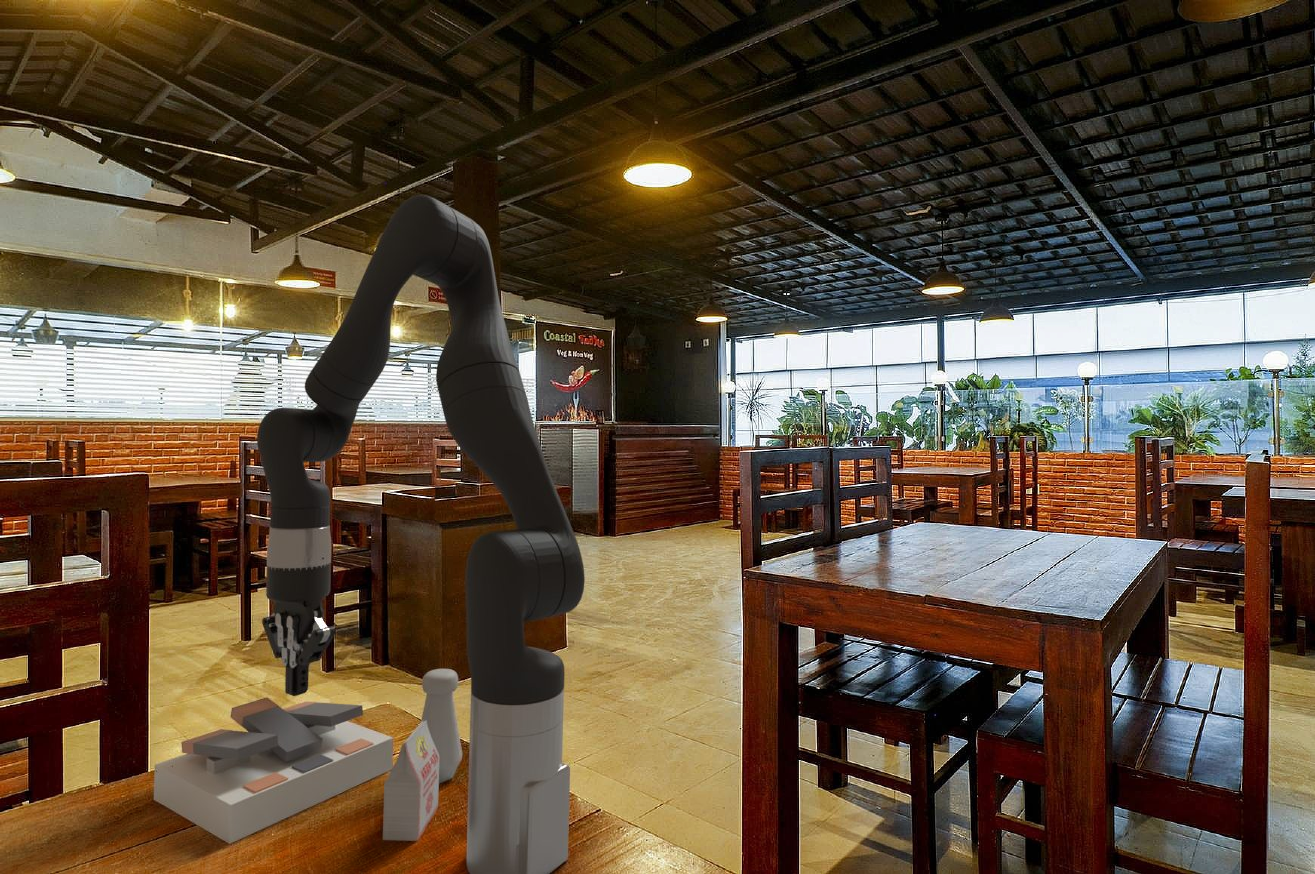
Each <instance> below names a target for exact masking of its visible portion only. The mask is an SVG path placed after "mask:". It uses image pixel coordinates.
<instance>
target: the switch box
mask: <svg viewBox="0 0 1315 874" xmlns="http://www.w3.org/2000/svg"><path fill="white" fill-rule="evenodd" d="M303 725H305V726H306V727H307V728H309V729H310V730H311V731H313V732H314V733H315V734H317V735H318V736H319V737H321V738H322V739H323V740H322V746H321V748H320V749H318V750H315V751H312V752H310V753H307V754H305V755H302V756H300V757H297V758H294V759H292V760H289V761H287V762H285V761H284V760H283V759H281V758H280V757H279V756H278V755H277V754H275V753H274V752H273V751H272V750H270V749H268V750H265V751H262V752H260V753H257V754H254V755H251V756H249V757H246V758H243V759H240V760H233V759H226V758H218V757H211V756H204V755H196V754H187V753H184V754H183V755H179V756H177V757H174V758H170V759H168V760H165V761H161V762H158V763H156V764H154V774H153V775H154V776H153V777H154V779H153V800H154V801H155V802H157V803H159V804H160V805H163V806H164V807H166V808H167V809H169V810H171V811H172V812H174V813H176V814H177V815H179V816H181V817H183V818H184V819H186V820H188V821H190V822H191V823H193V824H194V825H196V826H197V827H200V828H202V829H203V830H205V831H207V832H208V833H210V834H212V835H214V836H215V837H217V838H219V839H220V840H222V841H224V842H226V843H227V844H228V845H229V844H232V843H233V844H234V843H235V842H237V841H239V840H241V839H244V838H247V837H248V836H250V835H253V834H255V833H256V832H259V831H261V830H263V829H266V828H268V827H270V826H272V825H274V824H277V823H278V822H279V823H280V821H283V820H284V819H287V818H290V817H292V816H295V815H296V814H298V813H300V812H303V811H305V810H307V809H308V808H311V807H313V806H315V805H318V804H321V803H322V802H324V801H327V800H329V799H331V798H333V797H335V796H337V795H340V794H341V793H343V792H346V791H348V790H351V789H352V788H355V787H357V786H358V785H361V784H364V783H365V782H367V781H370V780H373V779H374V778H377V777H379V776H381V775H384V774H386V773H387V772H389V771H390V772H391V770H392V768H393V766H394V765H393V764H394V763H393V762H394V759H393V758H394V737H393V736H389V735H387V734H384V733H381V732H378V731H375V730H373V729H371V728H369V727H368V728H367V727H365V726H362V725H359V724H357V723H354V722H352V721H350V720H348V721H345V722H343V723H340V724H337V725H335V726H332V727H330V726H319V725H308V724H303ZM172 766H173V767H172ZM156 771H157V772H156Z"/></svg>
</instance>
